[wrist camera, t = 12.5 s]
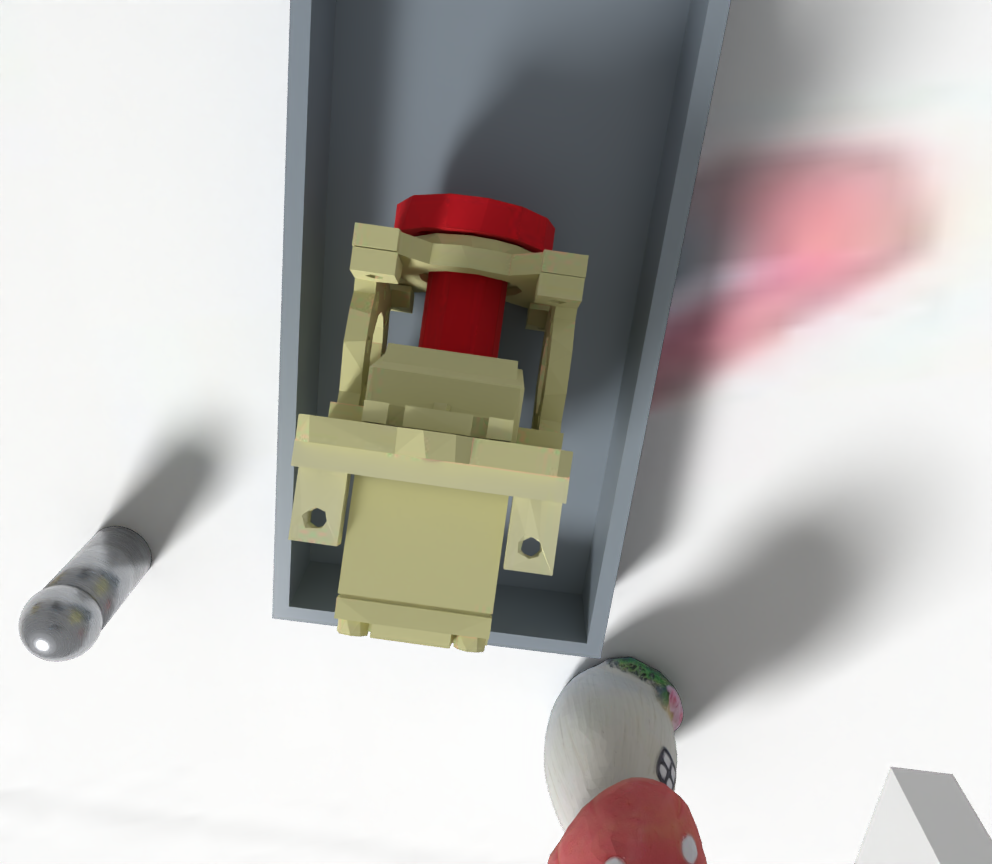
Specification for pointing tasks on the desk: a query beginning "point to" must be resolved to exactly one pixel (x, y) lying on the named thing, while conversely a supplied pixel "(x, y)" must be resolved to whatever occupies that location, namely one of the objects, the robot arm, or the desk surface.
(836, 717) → the desk surface
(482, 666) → the desk surface
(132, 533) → the ball stud post
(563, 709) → the decorative ornament
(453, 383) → the mechanical component
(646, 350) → the parts bin
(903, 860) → the robot arm
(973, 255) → the desk surface
